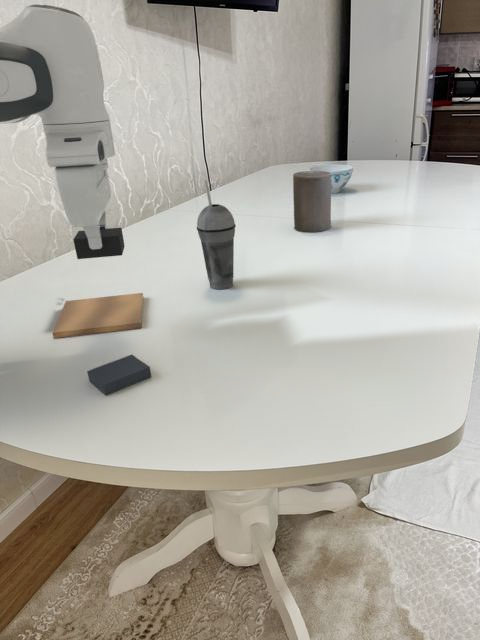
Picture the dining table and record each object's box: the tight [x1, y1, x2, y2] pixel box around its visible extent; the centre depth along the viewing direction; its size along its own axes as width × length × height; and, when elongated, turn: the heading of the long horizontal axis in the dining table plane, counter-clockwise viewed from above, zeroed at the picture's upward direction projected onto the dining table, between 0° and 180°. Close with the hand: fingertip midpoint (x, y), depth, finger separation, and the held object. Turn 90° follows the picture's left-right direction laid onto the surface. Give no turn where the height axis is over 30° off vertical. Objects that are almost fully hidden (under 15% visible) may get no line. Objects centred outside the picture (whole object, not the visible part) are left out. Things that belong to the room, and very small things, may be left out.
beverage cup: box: [196, 179, 237, 291], centre depth 98 cm, size 7×7×20 cm
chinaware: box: [307, 164, 354, 194], centre depth 177 cm, size 15×15×8 cm
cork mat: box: [52, 292, 145, 339], centre depth 91 cm, size 14×14×1 cm
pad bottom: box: [73, 227, 125, 260], centre depth 79 cm, size 6×5×3 cm
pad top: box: [86, 354, 152, 397], centre depth 69 cm, size 6×5×3 cm
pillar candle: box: [292, 168, 332, 233], centre depth 134 cm, size 10×10×15 cm
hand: (99, 242), depth 79 cm, fingers closed on pad bottom, 5 cm apart
